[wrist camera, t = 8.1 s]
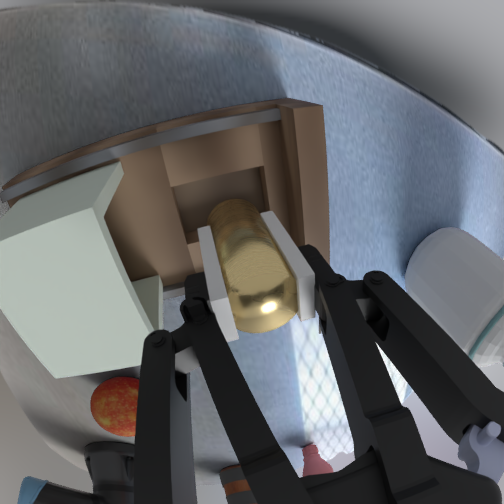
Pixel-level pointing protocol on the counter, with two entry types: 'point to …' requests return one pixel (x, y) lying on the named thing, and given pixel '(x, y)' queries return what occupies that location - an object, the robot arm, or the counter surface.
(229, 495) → the mug
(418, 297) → the soap bottle
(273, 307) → the brass peg
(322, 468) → the light bulb
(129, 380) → the apple
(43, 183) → the housing base
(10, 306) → the cover
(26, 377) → the counter surface
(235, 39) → the counter surface
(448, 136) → the counter surface
